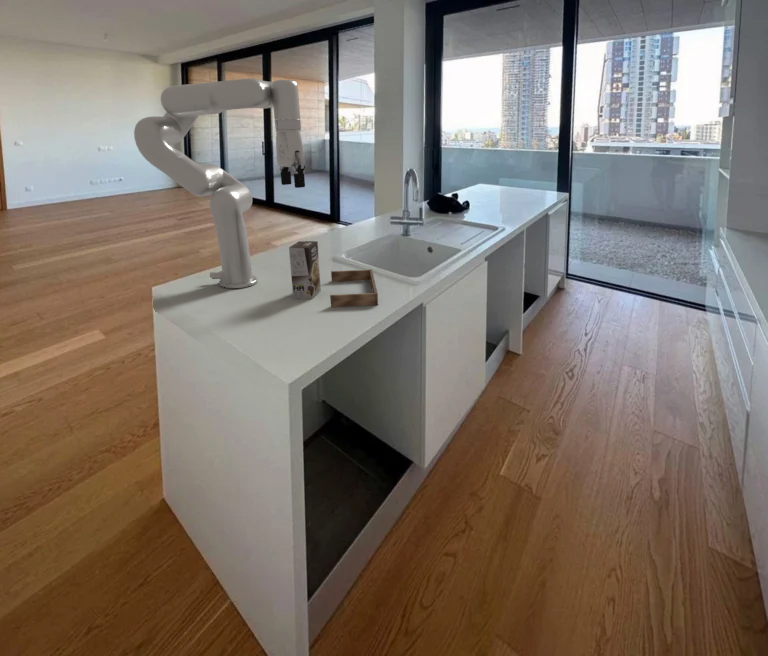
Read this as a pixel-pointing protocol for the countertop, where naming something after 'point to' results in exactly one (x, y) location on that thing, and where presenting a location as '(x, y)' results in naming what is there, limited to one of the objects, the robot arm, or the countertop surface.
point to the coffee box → (305, 269)
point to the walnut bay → (354, 298)
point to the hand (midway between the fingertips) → (293, 185)
